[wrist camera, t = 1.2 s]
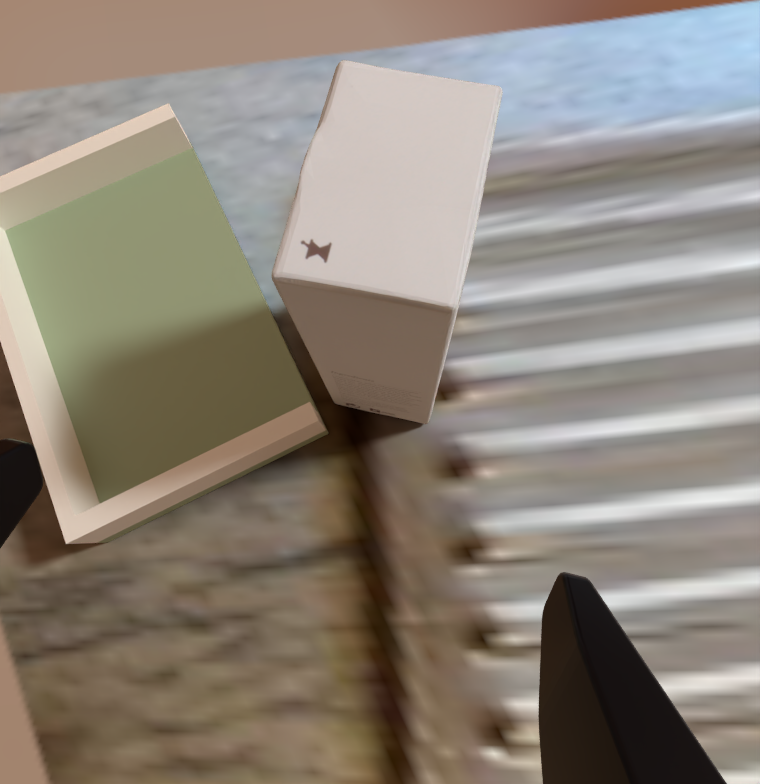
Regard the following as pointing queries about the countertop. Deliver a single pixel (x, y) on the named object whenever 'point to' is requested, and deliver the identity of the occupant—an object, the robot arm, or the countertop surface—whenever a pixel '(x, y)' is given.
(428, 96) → the skincare box
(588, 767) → the robot arm
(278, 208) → the countertop surface
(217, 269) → the pad
